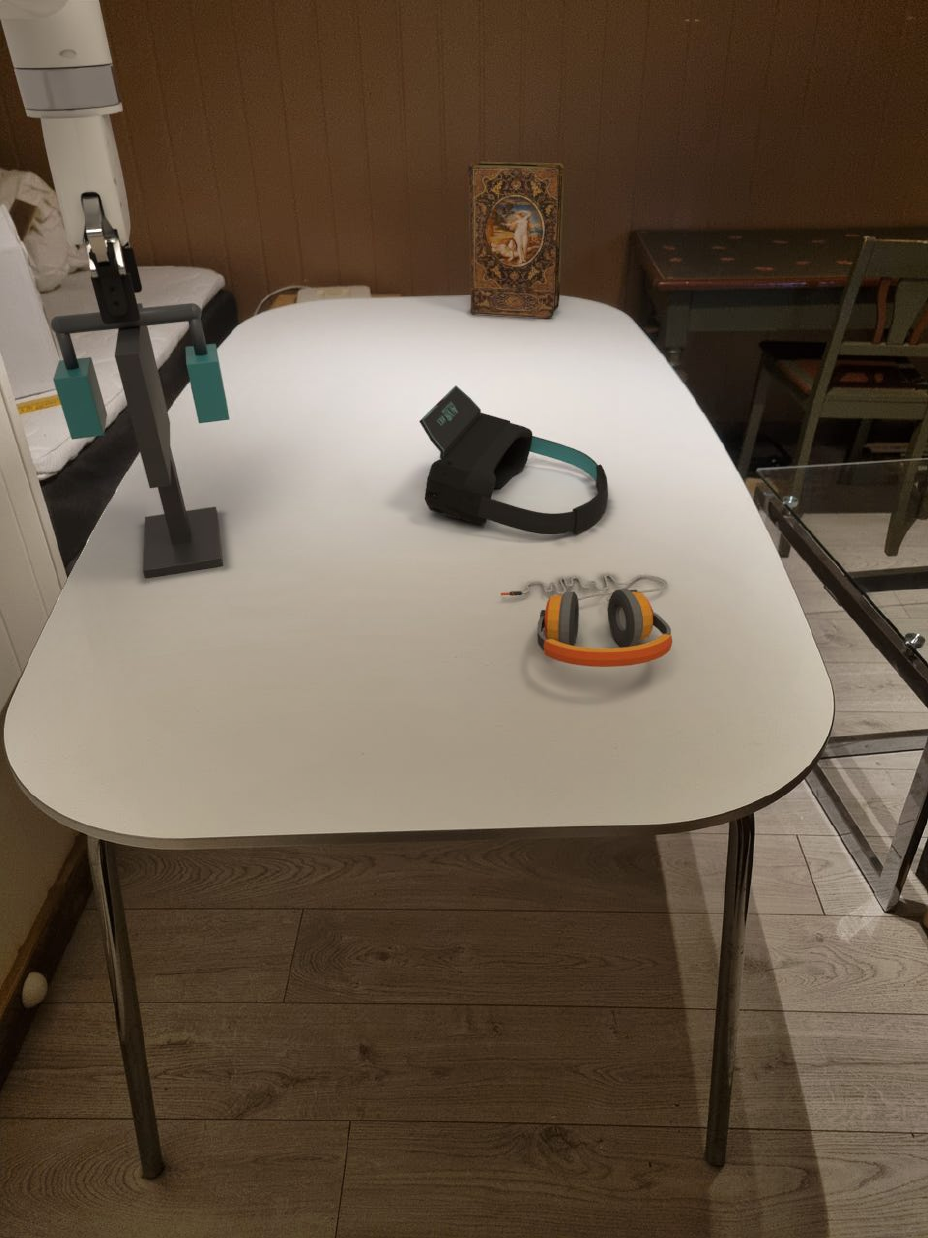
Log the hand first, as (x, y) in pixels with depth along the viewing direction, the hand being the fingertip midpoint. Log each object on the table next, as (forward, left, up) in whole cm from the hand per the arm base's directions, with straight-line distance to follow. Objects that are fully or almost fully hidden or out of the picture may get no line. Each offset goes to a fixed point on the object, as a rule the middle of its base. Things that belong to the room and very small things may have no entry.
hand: (124, 306), depth 80 cm
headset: (0, 0, -11) cm, 11 cm away
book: (+62, +69, -26) cm, 96 cm away
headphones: (+37, -29, -26) cm, 54 cm away
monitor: (0, 0, -26) cm, 26 cm away
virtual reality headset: (+39, -2, -26) cm, 47 cm away
